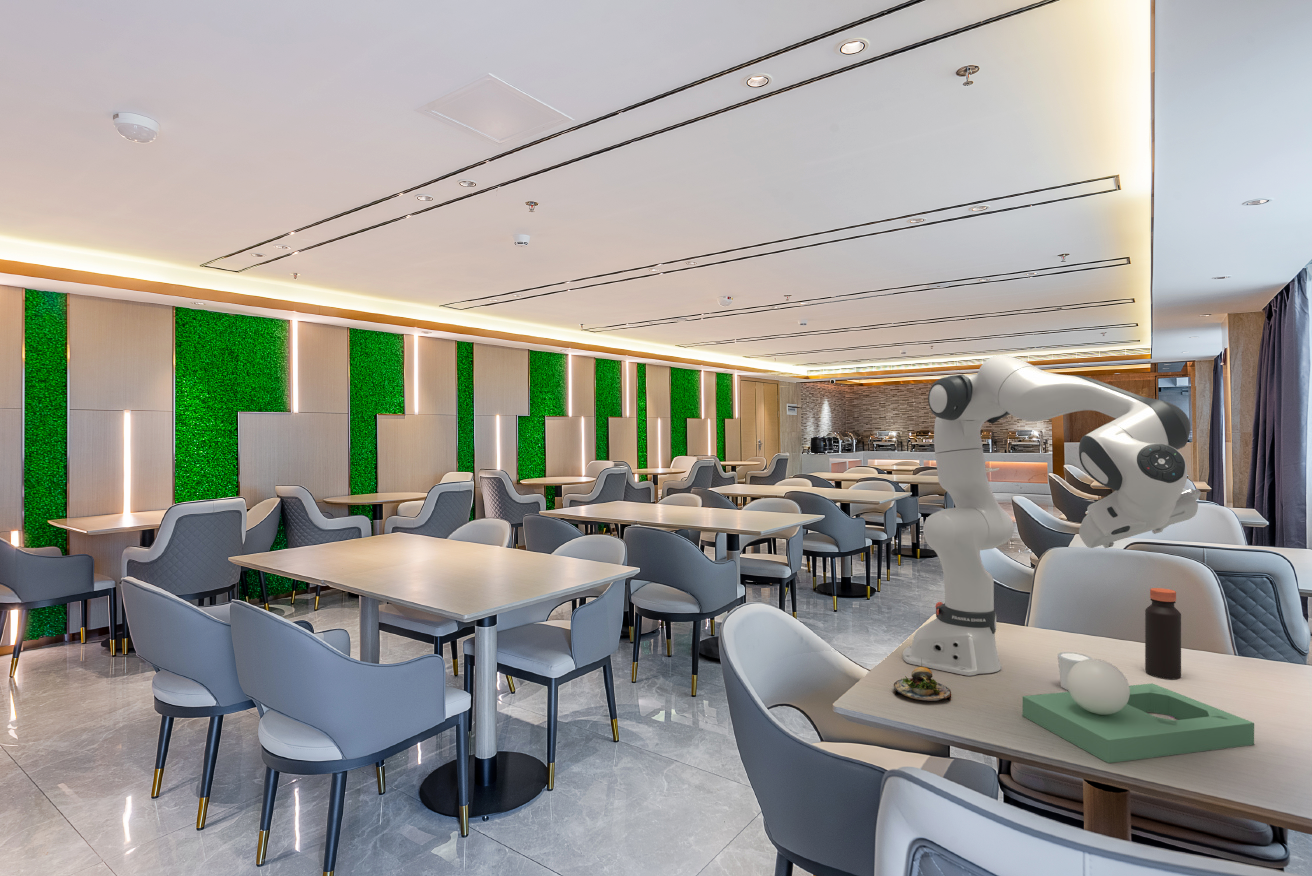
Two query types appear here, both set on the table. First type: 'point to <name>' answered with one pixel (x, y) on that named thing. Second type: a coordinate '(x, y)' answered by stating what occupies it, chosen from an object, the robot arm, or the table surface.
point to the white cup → (1068, 665)
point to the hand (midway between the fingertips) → (1130, 537)
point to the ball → (1098, 686)
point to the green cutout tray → (1140, 725)
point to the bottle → (1163, 635)
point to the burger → (922, 686)
